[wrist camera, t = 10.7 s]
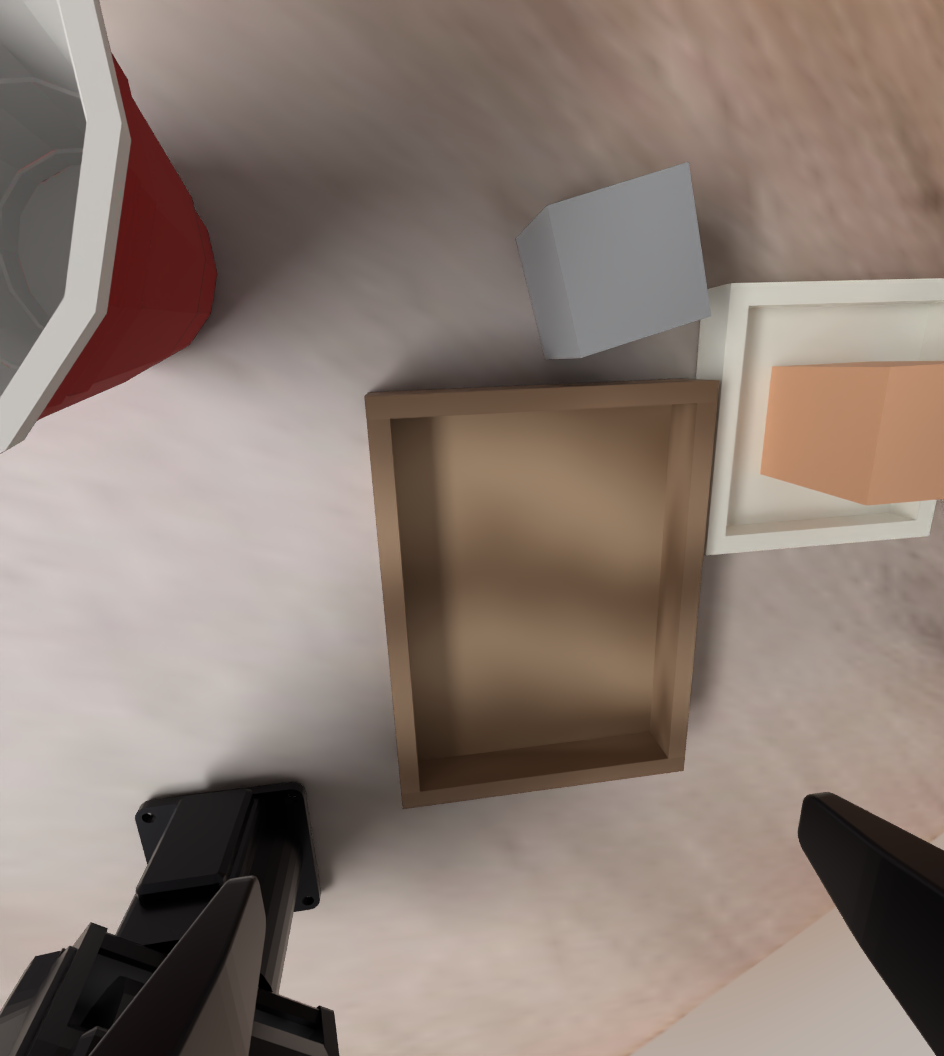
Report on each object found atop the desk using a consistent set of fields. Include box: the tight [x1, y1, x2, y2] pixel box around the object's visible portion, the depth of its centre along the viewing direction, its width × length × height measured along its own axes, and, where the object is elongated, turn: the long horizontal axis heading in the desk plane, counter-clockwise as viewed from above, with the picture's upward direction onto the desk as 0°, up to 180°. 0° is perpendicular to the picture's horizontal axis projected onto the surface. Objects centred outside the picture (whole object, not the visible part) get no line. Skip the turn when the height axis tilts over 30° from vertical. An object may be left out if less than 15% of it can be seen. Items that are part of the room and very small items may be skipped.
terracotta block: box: [760, 361, 944, 506], centre depth 18 cm, size 4×4×5 cm
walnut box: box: [365, 378, 719, 809], centre depth 20 cm, size 15×11×2 cm
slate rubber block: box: [516, 162, 711, 359], centre depth 17 cm, size 4×4×4 cm
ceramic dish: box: [696, 278, 944, 555], centre depth 20 cm, size 9×9×2 cm
